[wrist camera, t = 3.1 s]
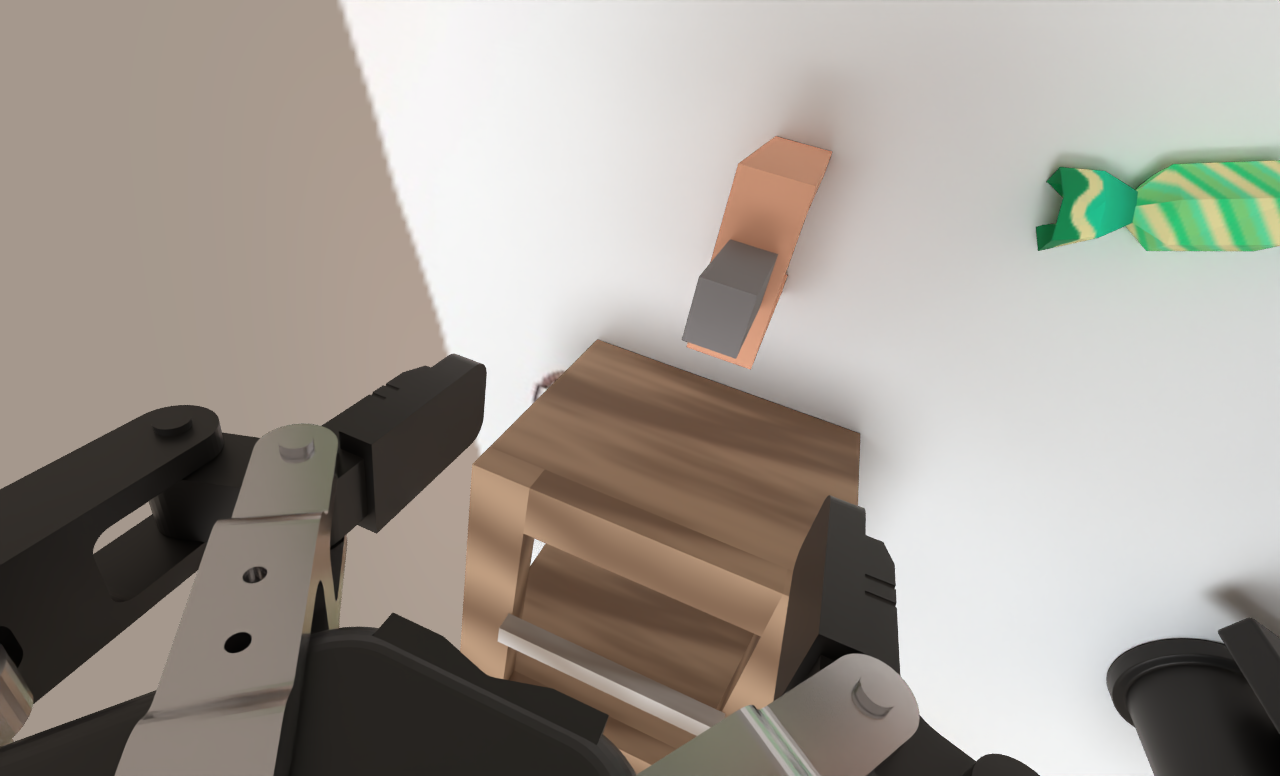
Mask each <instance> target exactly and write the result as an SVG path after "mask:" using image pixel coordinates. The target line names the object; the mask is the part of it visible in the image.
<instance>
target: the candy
mask: <svg viewBox="0 0 1280 776" xmlns="http://www.w3.org/2000/svg"><path fill="white" fill-rule="evenodd" d="M1046 182H1047V183H1049V184H1050V185H1051V186H1052V187H1053V188H1054V189H1055V190H1056V191H1057V192H1058V193H1059V194H1060V195H1061V197H1062V198H1063V200H1062V204H1061V207H1060V211H1059V215H1058V218H1057V222H1056V223H1055V224H1047V225H1041V226H1038V227H1036V234H1037V246H1038V251H1040V250H1045V249H1049V248H1054V247H1058V246H1063V245H1068V244H1072V243H1077V242H1081V241H1086V240H1091V239H1095V238H1099V237H1101V236H1103V235H1106V234H1108V233H1110V232H1113V231H1115V230H1117V229H1120V228H1122V227H1124V226H1126V227H1127V228H1128V230H1129V231H1130V232H1131V233H1132V234H1133V236H1134V237H1135V238H1136V239H1137V240H1138V242H1139V243H1140V244H1141V245H1142V246H1143V248H1144V249H1145V250H1146V251H1257V250H1262V249H1266V248H1271V247H1276V246H1280V160H1278V161H1249V162H1221V163H1193V164H1173V165H1171V166H1169V167H1167V168H1165V169H1163V170H1162V171H1160V172H1158V173H1156V174H1154V175H1153V176H1152V177H1150V178H1149V179H1148V180H1146V181H1145V182H1144V183H1143V184H1142V185H1140V186H1139V187H1138V188H1137V189H1136V190H1134V189H1133V188H1131V187H1130V186H1128V185H1126V184H1125V183H1123V182H1122V181H1120V180H1119V179H1117V178H1115V177H1114V176H1112V175H1111V174H1109V173H1107V172H1106V171H1100V170H1088V169H1077V168H1065V167H1059V169H1058V170H1057V171H1056V172H1055V173H1054V174H1053V175H1052V176H1051V177H1050V178H1049V179H1048V180H1047V181H1046Z"/></svg>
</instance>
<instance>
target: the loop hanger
mask: <svg viewBox="0 0 1280 776" xmlns="http://www.w3.org/2000/svg"><path fill="white" fill-rule="evenodd" d="M831 154H832V151H828V150H824V149H821V148H817V147H813V146H810V145H806V144H802V143H799V142H795V141H791V140H788V139H784V138H780V137H777V136H775V137H774V138H773V139H771V140H770V141H768V142H767V143H766V144H764V145H763V146H762V147H760V148H759V149H758V150H756V151H755V152H754V153H752V154H751V155H750V156H748V157H747V158H745V159H744V160H743V161H741V162H740V163H739V164H738V167H737V170H736V174H735V177H734V181H733V184H732V188H731V191H730V195H729V198H728V202H727V206H726V209H725V213H724V216H723V220H722V223H721V227H720V230H719V234H718V237H717V241H716V244H715V248H714V252H713V255H712V259H711V262H710V264H709V265H708V267H707V268H706V269H705V270H704V271H703V273H702V274H701V275H700V276H699V279H698V283H697V286H696V290H695V294H694V297H693V301H692V305H691V308H690V312H689V315H688V319H687V323H686V326H685V330H684V334H683V337H682V340H683V341H686V342H688V344H687V347H688V348H691V349H694V350H696V351H699V352H702V353H705V354H708V355H711V356H713V357H716V358H719V359H722V360H725V361H728V362H731V363H733V364H736V365H739V366H742V367H745V368H748V369H751V367H752V365H753V362H754V360H755V357H756V355H757V352H758V350H759V347H760V345H761V342H762V340H763V337H764V335H765V333H766V330H767V328H768V325H769V323H770V320H771V318H772V315H773V313H774V310H775V308H776V305H777V303H778V300H779V298H780V295H781V293H782V290H783V287H784V284H785V281H786V279H787V276H788V275H786V271H787V268H788V265H789V263H790V260H791V257H792V254H793V252H794V249H795V246H796V243H797V240H798V238H799V235H800V232H801V229H802V226H803V224H804V221H805V218H806V215H807V213H808V210H809V208H810V206H811V203H812V201H813V199H814V197H815V194H816V192H817V190H818V188H819V185H820V183H821V181H822V179H823V176H824V174H825V171H826V168H827V165H828V163H829V160H830V157H831Z"/></svg>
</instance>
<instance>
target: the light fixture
mask: <svg viewBox="0 0 1280 776" xmlns="http://www.w3.org/2000/svg"><path fill="white" fill-rule="evenodd" d="M1218 634H1219V635H1220V637H1221V639H1222V640H1223V642H1224V644H1225V645H1223V644H1219V643H1215V642H1210V641H1203V640H1194V639H1171V640H1162V641H1156V642H1151V643H1147V644H1144V645H1141V646H1138V647H1136V648H1133V649H1131V650H1129V651H1128V652H1126V653H1124V654H1123V655H1121V656H1120V657H1119V658H1118V659H1117V660H1116V661H1115V662H1114V663H1113V664H1112V665H1111V667H1110V669H1109V671H1108V674H1107V687H1108V690H1109V693H1110V696H1111V698H1112V701H1113V703H1114V706H1115V708H1116V709H1117V711H1118V712H1119V714H1120V715H1121V716H1122V717H1123V718H1124V719H1125V720H1126V721H1127V722H1128V723H1130V724H1131V725H1132V726H1134V727H1135V728H1136V730H1137V733H1138V735H1139V738H1140V740H1141V743H1142V746H1143V748H1144V751H1145V753H1146V756H1147V758H1148V761H1149V763H1150V766H1151V768H1152V771H1153V773H1154V776H1280V638H1279V637H1277V636H1276V635H1275V634H1273V633H1272V632H1271V631H1269V630H1268V629H1267V628H1265V627H1264V626H1263V625H1261V624H1260V623H1259V622H1257V621H1256V620H1255V619H1253V618H1247V619H1244V620H1242V621H1239V622H1237V623H1235V624H1232V625H1230V626H1227V627H1225V628H1222V629H1220V630H1219V631H1218Z"/></svg>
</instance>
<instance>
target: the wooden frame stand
mask: <svg viewBox="0 0 1280 776" xmlns="http://www.w3.org/2000/svg"><path fill="white" fill-rule="evenodd" d="M859 456H860V433H857V432H854V431H851V430H848V429H846V428H843V427H840V426H837V425H834V424H832V423H829V422H826V421H823V420H821V419H818V418H815V417H812V416H809V415H807V414H804V413H801V412H798V411H795V410H793V409H790V408H787V407H784V406H781V405H779V404H776V403H773V402H770V401H768V400H765V399H762V398H759V397H756V396H754V395H751V394H748V393H745V392H742V391H740V390H737V389H734V388H731V387H728V386H726V385H723V384H720V383H717V382H714V381H712V380H709V379H706V378H703V377H701V376H698V375H695V374H692V373H689V372H687V371H684V370H681V369H678V368H675V367H673V366H670V365H667V364H664V363H661V362H659V361H656V360H653V359H650V358H648V357H645V356H642V355H639V354H636V353H634V352H631V351H628V350H625V349H622V348H620V347H617V346H614V345H611V344H608V343H606V342H603V341H600V340H596V341H595V342H594V343H593V344H592V345H591V346H590V347H589V348H588V349H587V350H586V351H585V352H584V353H583V354H582V355H581V356H580V357H579V358H578V359H577V360H576V361H575V362H574V363H573V364H572V365H571V366H570V367H569V368H568V369H567V370H566V371H565V372H564V373H563V374H562V375H561V376H560V377H559V378H558V379H557V380H556V381H555V382H554V383H553V384H552V385H551V386H550V387H549V388H548V389H547V390H546V391H545V392H544V393H543V394H542V395H541V396H540V397H539V398H538V399H537V400H536V401H535V402H534V403H533V404H532V405H531V406H530V407H529V408H528V409H527V410H526V411H525V412H524V413H523V414H522V415H521V416H520V417H519V418H518V419H517V420H516V421H515V422H514V423H513V424H512V425H511V426H510V427H509V428H508V429H507V430H506V431H505V432H504V433H503V434H502V435H501V436H500V437H499V438H498V439H497V440H496V441H495V442H494V443H493V444H492V445H491V446H490V447H489V448H488V449H487V450H486V451H485V452H484V453H483V454H482V455H481V456H480V457H479V458H478V459H477V460H476V461H475V462H474V463H473V465H472V478H471V494H470V508H469V509H470V510H469V524H468V540H467V556H466V571H465V587H464V602H463V618H462V634H461V649H460V652H461V653H462V654H464V655H465V656H466V657H467V658H468V659H469V660H470V661H471V662H472V663H474V664H475V665H476V666H477V667H478V668H479V669H480V670H481V671H483V672H484V673H485V674H487V675H489V676H491V677H495V678H500V679H505V680H510V681H516V682H521V683H526V684H532V685H537V686H542V687H548V688H553V689H555V690H557V691H559V692H561V693H563V694H566V695H568V696H570V697H572V698H574V699H576V700H578V701H580V702H582V703H584V704H587V705H589V706H591V707H593V708H595V709H597V710H599V711H601V712H603V713H606V714H608V715H609V717H608V720H607V723H606V726H605V729H604V733H603V735H605V736H606V737H607V738H608V739H609V740H610V741H611V742H612V743H614V745H615V746H616V747H617V748H618V749H619V750H620V751H621V752H622V754H623V755H624V756H625V757H626V759H627V760H628V762H629V763H630V764H631V766H632V767H633V769H634V770H635V772H636V774H638V773H640V772H641V771H643V770H645V769H646V768H648V767H649V766H651V765H653V764H654V763H656V762H657V761H659V760H660V759H662V758H664V757H665V756H667V755H668V754H670V753H671V752H673V751H675V750H676V749H678V748H679V747H681V746H682V745H684V744H686V743H687V742H689V741H690V740H692V739H693V738H695V737H697V736H698V735H700V734H701V733H703V732H704V731H706V730H708V729H709V728H711V727H712V726H714V725H715V724H717V723H719V722H720V721H722V720H723V719H725V718H726V717H728V716H730V715H731V714H733V713H734V712H736V711H738V710H739V709H741V708H743V707H745V706H748V705H754V706H755V707H756V708H757V709H758V710H759V709H762V708H764V707H765V706H767V705H769V704H770V703H772V702H773V700H774V693H775V686H776V680H777V673H778V667H779V660H780V653H781V647H782V640H783V634H784V627H785V620H786V614H787V607H788V601H789V594H790V587H791V581H792V574H793V570H794V566H795V562H796V559H797V556H798V553H799V551H800V548H801V546H802V544H803V542H804V540H805V538H806V536H807V534H808V532H809V530H810V528H811V526H812V524H813V522H814V520H815V518H816V516H817V514H818V512H819V510H820V508H821V506H822V504H823V502H824V500H825V499H826V497H827V496H828V495H830V496H833V497H835V498H838V499H841V500H843V501H846V502H849V503H851V504H854V505H857V506H858V485H859ZM534 538H535V539H537V540H540V541H542V542H544V543H546V544H545V545H544V547H543V548H542V550H541V551H540V553H539V554H538V556H537V557H536V559H535V560H534V562H533V563H532V564H531V566H530V563H531V556H532V550H533V543H534Z"/></svg>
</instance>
